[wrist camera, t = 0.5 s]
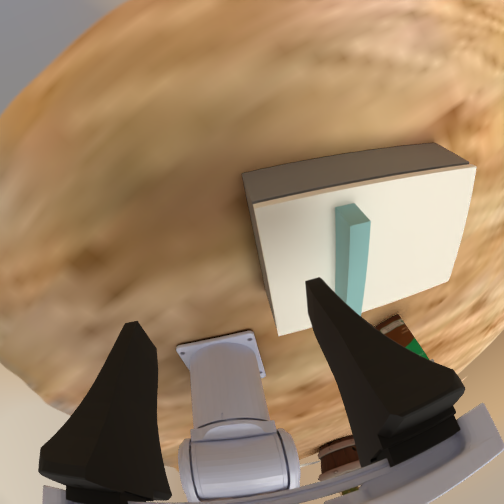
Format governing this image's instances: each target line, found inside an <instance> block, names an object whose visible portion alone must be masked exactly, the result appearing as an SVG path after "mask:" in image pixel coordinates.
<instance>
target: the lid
mask: <svg viewBox="0 0 504 504" xmlns="http://www.w3.org/2000/svg"><path fill="white" fill-rule="evenodd" d="M475 173H476V166H475V165H473V164H467V165H460V166H453V167H446V168H439V169H432V170H426V171H419V172H413V173H407V174H401V175H395V176H389V177H383V178H378V179H372V180H367V181H361V182H356V183H351V184H346V185H340V186H335V187H330V188H325V189H320V190H315V191H311V192H306V193H301V194H296V195H292V196H287V197H283V198H278V199H273V200H269V201H265V202H260V203H256V204H253V208H254V213H255V218H256V223H257V228H258V233H259V238H260V243H261V248H262V254H263V259H264V264H265V269H266V274H267V280H268V285H269V290H270V295H271V301H272V306H273V311H274V316H275V322H276V327H277V332H278V336H281V335H285V334H289V333H293V332H297V331H300V330H304V329H308V328H311V327H312V325H311V322H310V319H309V316H308V309H307V297H306V285H305V281H307V280H311V279H314V278H318V277H320V278H322V279H323V280H324V281H325V283H326V284H327V285H328V286H329V287H330V288H331V289H332V290H333V291H334V292H335V293H336V294H337V295H338V296H339V297H340V298H341V299H342V300H343V301H344V302H345V303H346V304H347V305H348V306H350V307H351V308H352V309H353V310H354V311H355V312H356V313H357V314H359V315H360V316H361V312H364V311H367V310H370V309H374V308H377V307H379V306H382V305H385V304H388V303H391V302H394V301H397V300H400V299H402V298H405V297H408V296H411V295H413V294H416V293H419V292H421V291H424V290H427V289H429V288H432V287H434V286H437V285H440V284H442V283H445V282H447V281H449V278H450V275H451V272H452V269H453V266H454V263H455V259H456V256H457V253H458V249H459V246H460V242H461V238H462V235H463V231H464V227H465V223H466V219H467V215H468V210H469V206H470V201H471V196H472V191H473V185H474V179H475Z"/></svg>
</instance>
